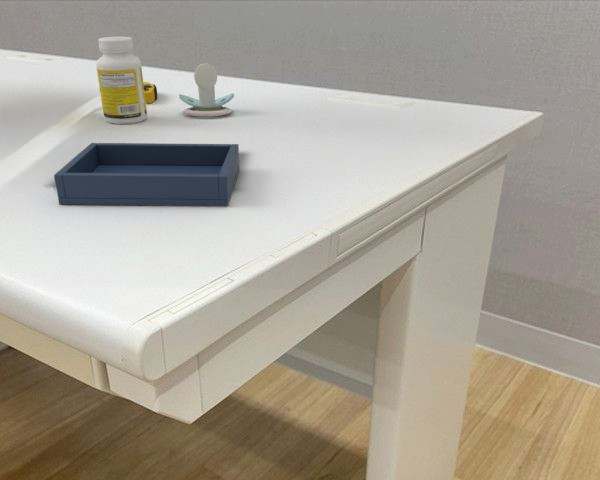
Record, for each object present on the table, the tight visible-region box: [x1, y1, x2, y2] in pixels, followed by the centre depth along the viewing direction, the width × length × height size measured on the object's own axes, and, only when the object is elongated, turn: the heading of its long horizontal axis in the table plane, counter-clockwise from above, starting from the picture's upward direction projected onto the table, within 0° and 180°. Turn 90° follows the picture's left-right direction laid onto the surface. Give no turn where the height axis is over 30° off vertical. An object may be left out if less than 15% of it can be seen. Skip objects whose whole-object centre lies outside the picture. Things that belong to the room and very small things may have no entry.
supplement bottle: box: [95, 36, 148, 125], centre depth 80 cm, size 5×5×10 cm
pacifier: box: [178, 62, 235, 117], centre depth 84 cm, size 7×6×6 cm
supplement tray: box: [53, 142, 240, 207], centre depth 58 cm, size 14×10×3 cm
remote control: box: [143, 81, 158, 105], centre depth 96 cm, size 5×2×15 cm
